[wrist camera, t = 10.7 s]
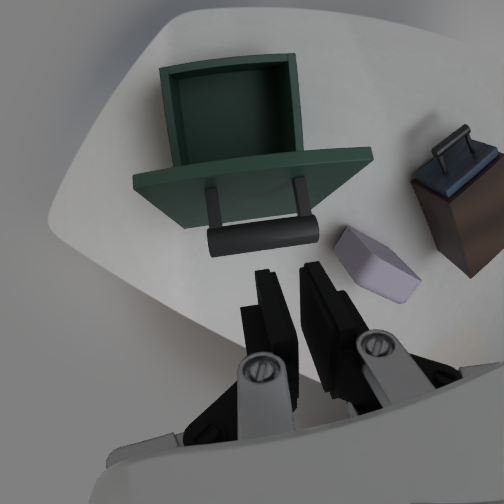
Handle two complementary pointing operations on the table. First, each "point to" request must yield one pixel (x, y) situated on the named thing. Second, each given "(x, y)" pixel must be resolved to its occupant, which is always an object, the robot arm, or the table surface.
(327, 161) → the chest lid
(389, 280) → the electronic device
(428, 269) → the table surface
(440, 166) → the drawer
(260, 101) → the chest
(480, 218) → the cabinet
